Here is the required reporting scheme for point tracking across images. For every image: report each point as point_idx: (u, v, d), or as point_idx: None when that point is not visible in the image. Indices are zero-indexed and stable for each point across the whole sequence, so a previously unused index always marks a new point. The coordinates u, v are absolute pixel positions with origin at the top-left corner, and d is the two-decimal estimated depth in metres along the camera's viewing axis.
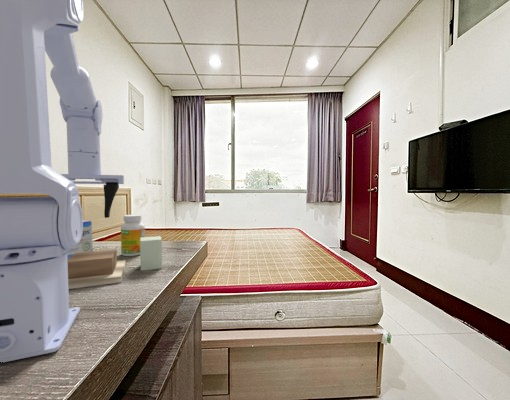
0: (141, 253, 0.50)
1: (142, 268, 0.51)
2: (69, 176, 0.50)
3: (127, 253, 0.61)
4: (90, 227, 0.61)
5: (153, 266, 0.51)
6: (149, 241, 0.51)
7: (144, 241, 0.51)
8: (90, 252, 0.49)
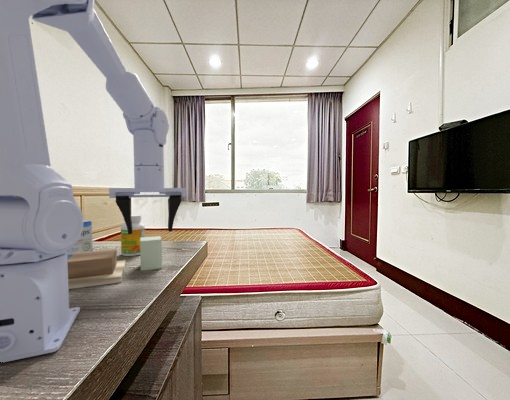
0: (141, 253, 0.50)
1: (142, 268, 0.51)
2: (137, 190, 0.49)
3: (127, 253, 0.61)
4: (90, 227, 0.61)
5: (153, 266, 0.51)
6: (149, 241, 0.51)
7: (144, 241, 0.51)
8: (90, 252, 0.49)
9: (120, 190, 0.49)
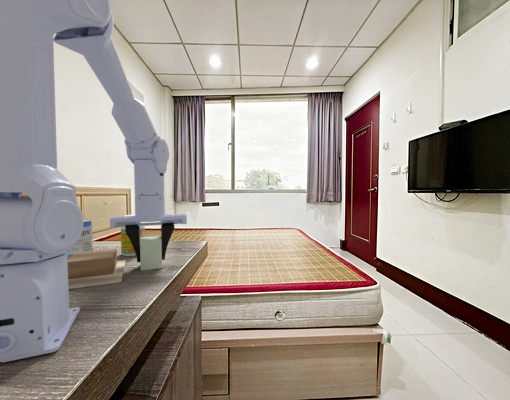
0: (141, 253, 0.50)
1: (142, 268, 0.51)
2: (138, 220, 0.49)
3: (127, 253, 0.61)
4: (90, 227, 0.61)
5: (153, 266, 0.51)
6: (149, 241, 0.51)
7: (144, 241, 0.51)
8: (90, 252, 0.49)
9: (121, 220, 0.49)
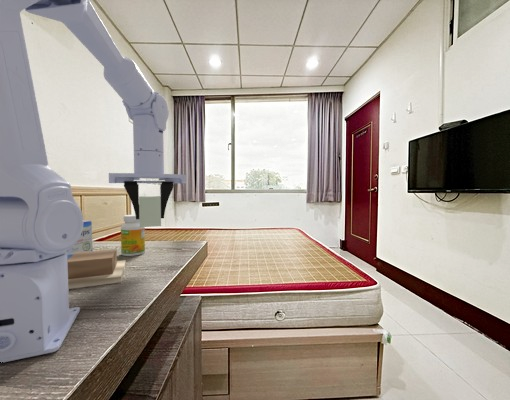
0: (140, 209, 0.50)
1: (141, 225, 0.50)
2: (137, 175, 0.49)
3: (127, 253, 0.61)
4: (90, 227, 0.61)
5: (152, 223, 0.51)
6: (148, 198, 0.50)
7: (143, 197, 0.50)
8: (90, 252, 0.49)
9: (120, 175, 0.49)
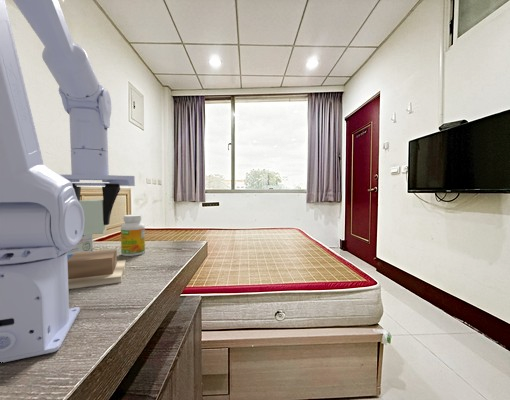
0: None
1: None
2: (72, 177, 0.43)
3: (127, 253, 0.61)
4: None
5: (92, 231, 0.45)
6: (87, 202, 0.45)
7: (81, 202, 0.44)
8: (90, 252, 0.49)
9: None
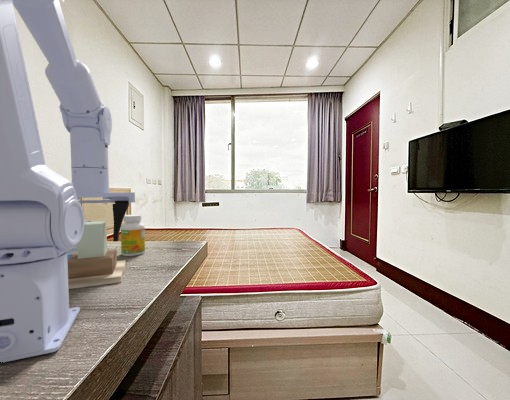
0: None
1: (79, 256, 0.45)
2: None
3: (127, 253, 0.61)
4: None
5: (93, 254, 0.45)
6: (88, 225, 0.45)
7: None
8: None
9: None
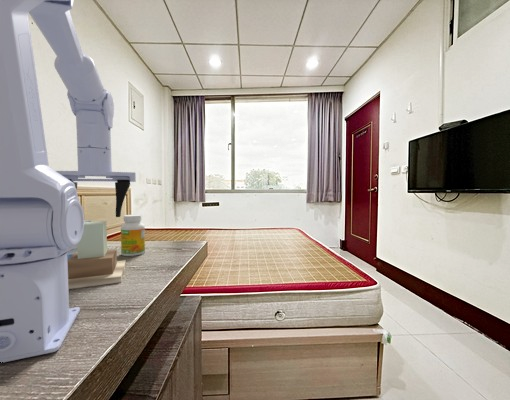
0: None
1: (79, 256, 0.45)
2: (79, 173, 0.48)
3: (127, 253, 0.61)
4: None
5: (93, 254, 0.45)
6: (88, 225, 0.45)
7: None
8: None
9: (61, 173, 0.47)
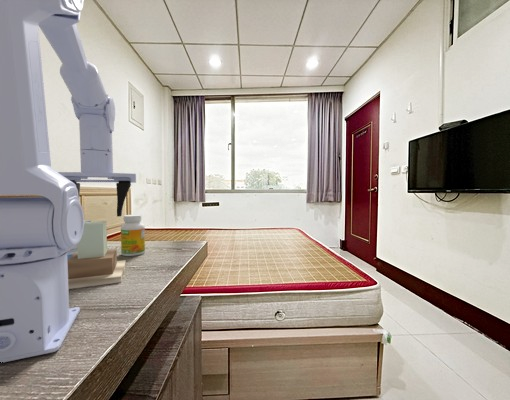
0: None
1: (79, 256, 0.45)
2: (82, 174, 0.50)
3: (127, 253, 0.61)
4: None
5: (93, 254, 0.45)
6: (88, 225, 0.45)
7: None
8: None
9: (65, 174, 0.50)
